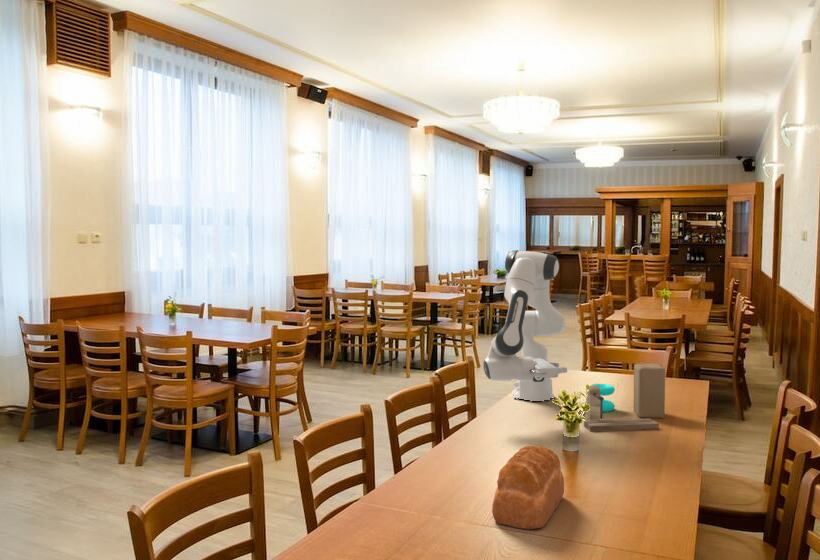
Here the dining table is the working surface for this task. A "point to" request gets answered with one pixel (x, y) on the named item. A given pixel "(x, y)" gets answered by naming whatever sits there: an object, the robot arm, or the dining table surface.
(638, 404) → the grey rectangular block
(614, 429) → the board
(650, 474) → the dining table surface
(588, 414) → the gauge
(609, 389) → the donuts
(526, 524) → the bread
